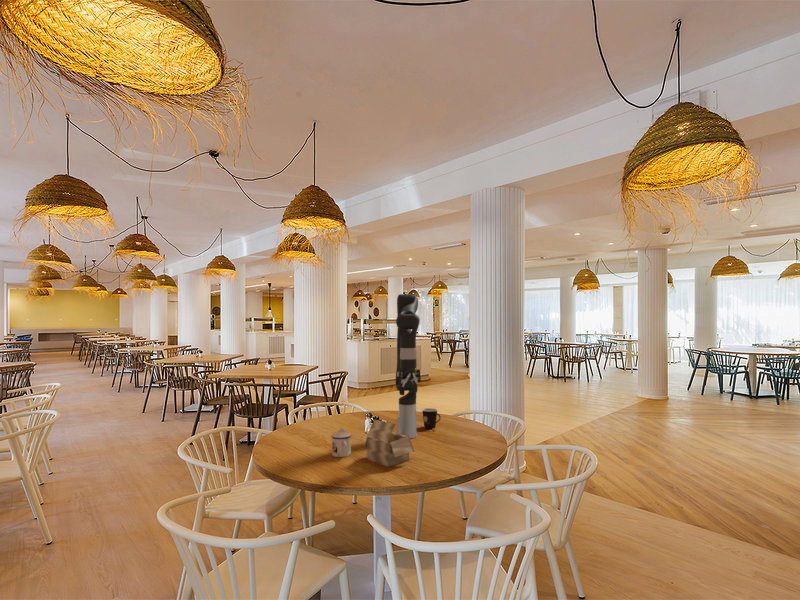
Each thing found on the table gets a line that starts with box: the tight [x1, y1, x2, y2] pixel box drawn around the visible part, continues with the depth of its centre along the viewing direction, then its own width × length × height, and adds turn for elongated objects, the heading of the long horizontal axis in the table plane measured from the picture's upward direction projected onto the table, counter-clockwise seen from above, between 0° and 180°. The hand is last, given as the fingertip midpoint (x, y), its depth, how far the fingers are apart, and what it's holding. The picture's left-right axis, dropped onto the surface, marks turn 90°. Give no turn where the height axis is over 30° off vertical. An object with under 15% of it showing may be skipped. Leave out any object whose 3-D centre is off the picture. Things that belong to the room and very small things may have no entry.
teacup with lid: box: [331, 428, 352, 458], centre depth 192 cm, size 12×9×12 cm
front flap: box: [366, 419, 396, 443], centre depth 182 cm, size 13×1×8 cm
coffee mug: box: [421, 407, 441, 430], centre depth 238 cm, size 12×9×10 cm
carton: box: [363, 431, 415, 468], centre depth 186 cm, size 20×16×10 cm
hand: (408, 393), depth 189 cm, fingers open, 8 cm apart
